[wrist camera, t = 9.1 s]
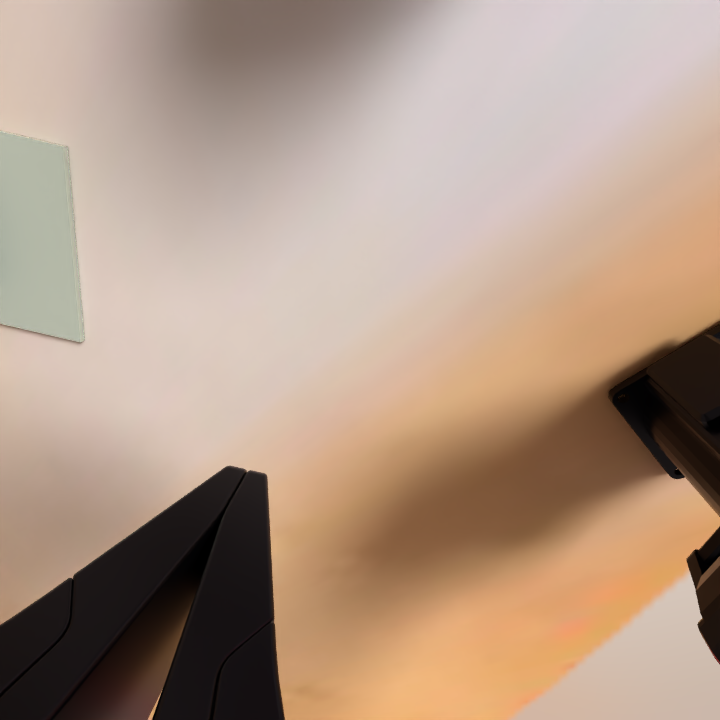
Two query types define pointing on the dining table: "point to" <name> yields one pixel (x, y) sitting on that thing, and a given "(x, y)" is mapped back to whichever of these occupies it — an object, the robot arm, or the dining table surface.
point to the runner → (38, 239)
